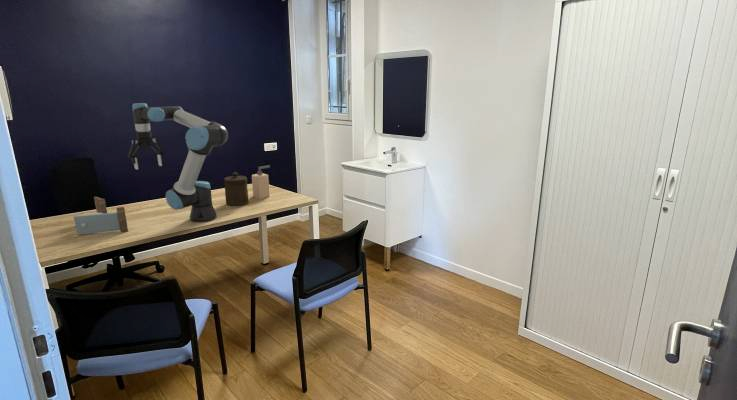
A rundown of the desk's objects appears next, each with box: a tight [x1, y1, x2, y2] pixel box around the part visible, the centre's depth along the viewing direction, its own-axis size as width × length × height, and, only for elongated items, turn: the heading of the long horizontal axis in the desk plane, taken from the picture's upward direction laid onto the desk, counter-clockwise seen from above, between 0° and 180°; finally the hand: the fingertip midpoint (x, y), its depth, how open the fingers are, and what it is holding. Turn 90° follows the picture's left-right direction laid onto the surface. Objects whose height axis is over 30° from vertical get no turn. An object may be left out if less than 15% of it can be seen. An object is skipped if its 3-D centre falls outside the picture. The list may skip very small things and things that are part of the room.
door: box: [73, 211, 120, 235], centre depth 219 cm, size 22×3×10 cm, turn 111°
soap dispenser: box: [251, 165, 271, 200], centre depth 293 cm, size 13×9×22 cm
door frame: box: [93, 196, 129, 234], centre depth 231 cm, size 36×3×14 cm, turn 52°
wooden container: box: [223, 171, 250, 207], centre depth 274 cm, size 15×15×22 cm
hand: (148, 167), depth 236 cm, fingers open, 13 cm apart
